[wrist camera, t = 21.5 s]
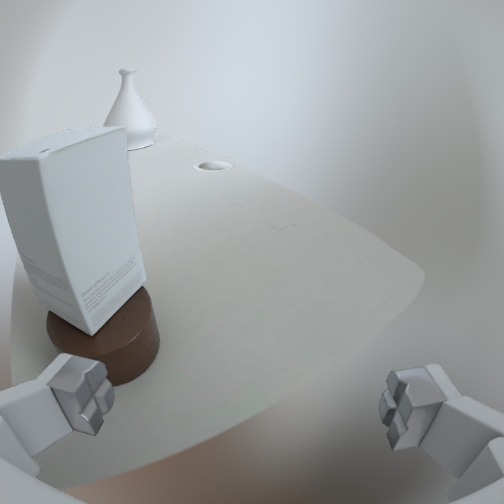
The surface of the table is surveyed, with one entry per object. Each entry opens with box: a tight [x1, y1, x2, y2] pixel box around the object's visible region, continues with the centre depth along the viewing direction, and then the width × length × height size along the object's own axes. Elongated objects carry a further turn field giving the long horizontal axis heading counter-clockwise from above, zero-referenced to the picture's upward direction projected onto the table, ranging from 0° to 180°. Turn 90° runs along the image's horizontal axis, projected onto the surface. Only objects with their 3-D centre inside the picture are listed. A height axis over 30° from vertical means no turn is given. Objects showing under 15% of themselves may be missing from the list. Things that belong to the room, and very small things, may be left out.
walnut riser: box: [46, 286, 160, 386], centre depth 21 cm, size 9×9×4 cm
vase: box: [103, 67, 157, 151], centre depth 75 cm, size 17×17×25 cm
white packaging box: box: [0, 126, 146, 336], centre depth 18 cm, size 7×7×13 cm
